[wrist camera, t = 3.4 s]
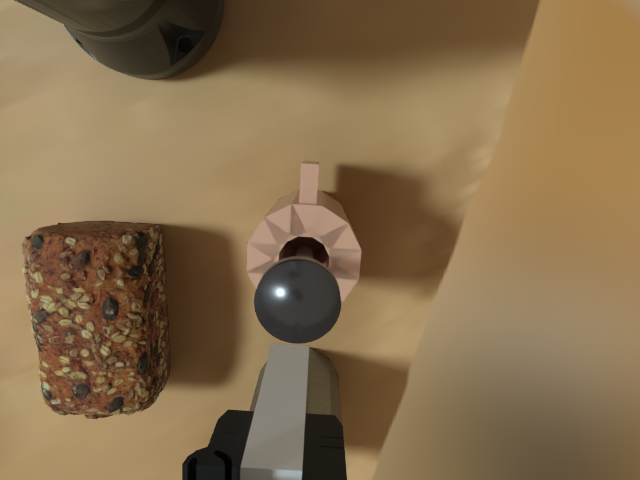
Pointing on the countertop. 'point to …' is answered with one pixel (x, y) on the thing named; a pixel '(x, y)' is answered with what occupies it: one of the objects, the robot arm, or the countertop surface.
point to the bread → (98, 315)
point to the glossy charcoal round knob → (298, 298)
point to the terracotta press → (307, 233)
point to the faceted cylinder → (315, 386)
